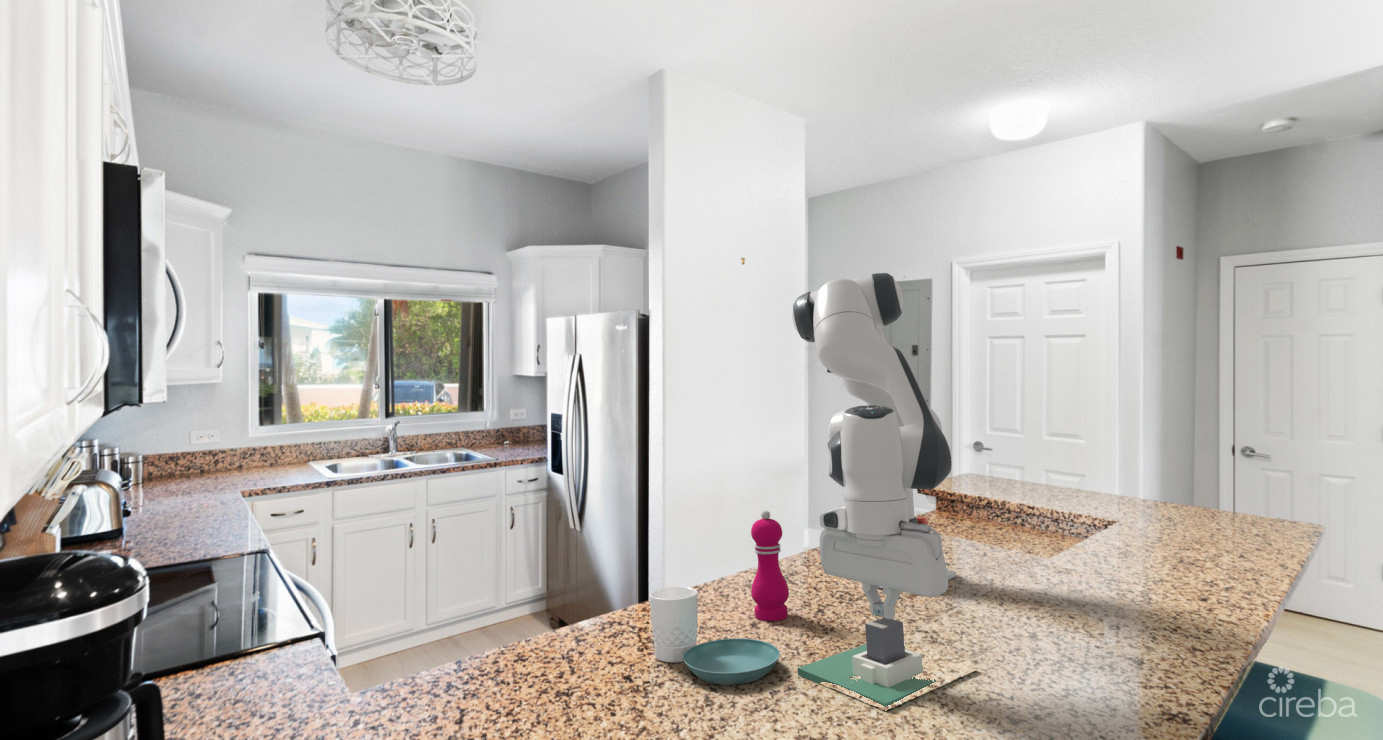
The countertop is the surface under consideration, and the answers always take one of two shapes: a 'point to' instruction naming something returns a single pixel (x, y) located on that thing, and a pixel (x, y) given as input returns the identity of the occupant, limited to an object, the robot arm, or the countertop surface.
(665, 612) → the white cup
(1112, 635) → the countertop surface
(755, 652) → the saucer
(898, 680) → the board
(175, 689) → the countertop surface
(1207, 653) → the countertop surface
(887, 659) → the plug
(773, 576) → the pepper mill
